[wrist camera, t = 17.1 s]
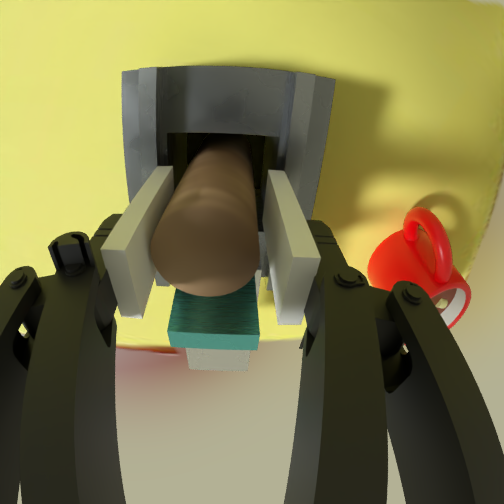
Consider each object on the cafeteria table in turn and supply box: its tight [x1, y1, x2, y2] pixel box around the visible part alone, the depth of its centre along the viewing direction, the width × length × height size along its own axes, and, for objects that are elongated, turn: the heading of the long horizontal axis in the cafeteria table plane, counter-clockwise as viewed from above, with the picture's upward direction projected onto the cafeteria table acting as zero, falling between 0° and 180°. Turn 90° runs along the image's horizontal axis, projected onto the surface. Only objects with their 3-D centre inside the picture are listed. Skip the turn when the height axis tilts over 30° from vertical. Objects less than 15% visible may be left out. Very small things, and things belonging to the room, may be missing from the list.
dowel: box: [150, 133, 260, 297], centre depth 14 cm, size 4×4×12 cm
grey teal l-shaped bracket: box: [167, 259, 262, 371], centre depth 17 cm, size 5×11×6 cm, turn 175°
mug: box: [367, 207, 471, 345], centre depth 21 cm, size 8×12×8 cm, turn 18°
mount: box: [122, 66, 335, 290], centre depth 16 cm, size 10×12×7 cm
